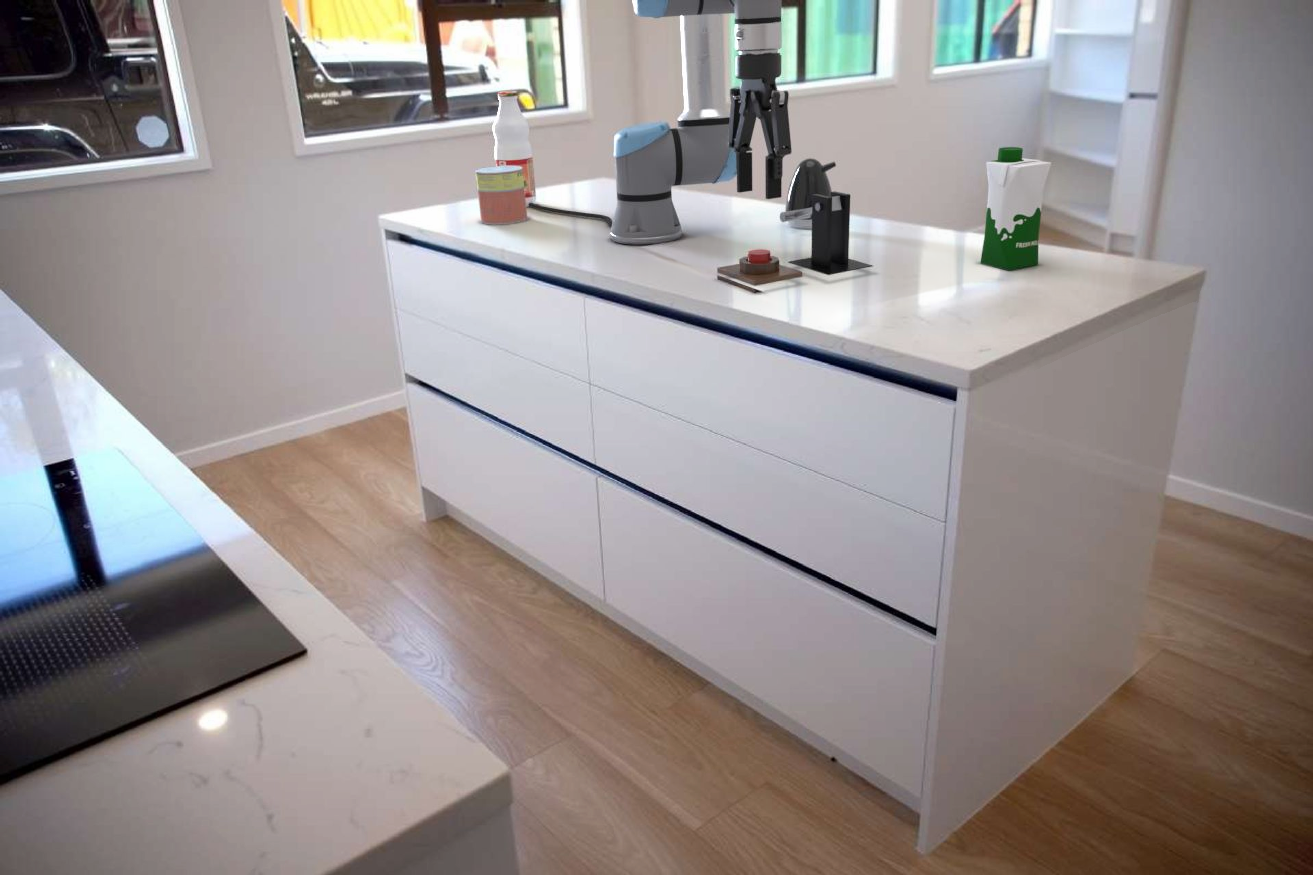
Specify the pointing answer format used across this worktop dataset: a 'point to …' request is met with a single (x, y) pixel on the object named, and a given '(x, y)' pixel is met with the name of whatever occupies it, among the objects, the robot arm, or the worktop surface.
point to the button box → (756, 273)
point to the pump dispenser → (807, 188)
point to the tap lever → (807, 211)
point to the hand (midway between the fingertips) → (758, 194)
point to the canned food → (501, 194)
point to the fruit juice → (514, 141)
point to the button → (759, 256)
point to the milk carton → (1013, 210)
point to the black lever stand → (830, 237)
